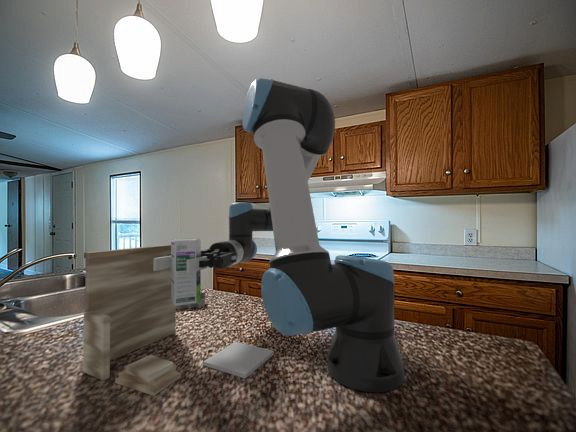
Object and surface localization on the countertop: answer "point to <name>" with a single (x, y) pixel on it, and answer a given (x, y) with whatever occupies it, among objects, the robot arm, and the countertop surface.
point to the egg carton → (194, 303)
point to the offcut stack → (149, 375)
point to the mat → (239, 359)
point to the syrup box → (183, 283)
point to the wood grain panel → (124, 305)
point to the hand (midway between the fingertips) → (171, 265)
